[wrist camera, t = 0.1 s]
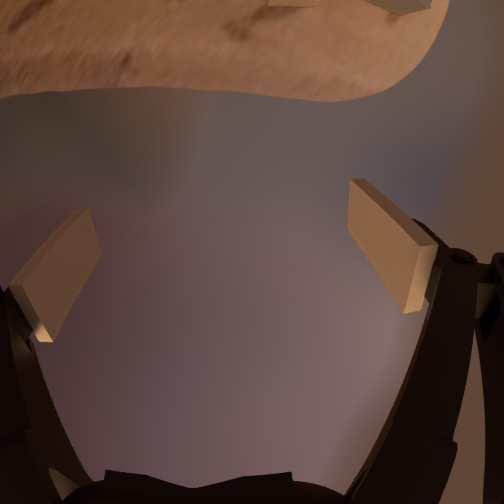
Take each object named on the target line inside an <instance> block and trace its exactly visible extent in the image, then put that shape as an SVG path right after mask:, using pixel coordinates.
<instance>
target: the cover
mask: <svg viewBox="0 0 504 504" xmlns="http://www.w3.org/2000/svg"><path fill="white" fill-rule="evenodd" d="M365 1H367V2H370V3H372V4H375V5H377V6H379V7H382V8H384V9H386V10H389V11H391V12H393V13H395V14H397V15H399V16H402V15H405V14H409V13H413V12H417V11H421V10H425V9H429V8H431V1H432V0H365Z"/></svg>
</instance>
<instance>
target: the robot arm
mask: <svg viewBox="0 0 504 504" xmlns="http://www.w3.org/2000/svg"><path fill="white" fill-rule="evenodd" d="M347 229H348V231H349V233H350V234H351V235H352V237H353V238H354V239H355V241H356V242H357V244H358V245H359V247H360V248H361V250H362V251H363V253H364V254H365V256H366V257H367V258H368V260H369V261H370V263H371V264H372V266H373V267H374V269H375V270H376V272H377V273H378V275H379V276H380V278H381V279H382V281H383V282H384V284H385V285H386V287H387V289H388V290H389V291H390V293H391V295H392V296H393V298H394V300H395V301H396V303H397V304H398V306H399V308H400V309H401V311H402V312H403V314H404V313H409V312H414V311H418V310H421V307H422V304H423V301H424V297H425V298H426V299H427V300H428V302H429V303H430V305H429V308H428V311H427V313H426V317H425V319H424V322H423V325H422V330H421V333H420V337H419V339H418V343H417V345H416V348H415V352H414V354H413V357H412V360H411V362H410V365H409V368H408V371H407V373H406V376H405V378H404V381H403V383H402V385H401V388H400V391H399V393H398V395H397V398H396V400H395V402H394V404H393V407H392V409H391V411H390V413H389V416H388V418H387V420H386V422H385V424H384V426H383V428H382V430H381V432H380V434H379V437H378V438H377V440H376V442H375V444H374V446H373V448H372V450H371V452H370V454H369V455H368V457H367V459H366V461H365V463H364V464H363V466H362V468H361V469H360V471H359V473H358V474H357V476H356V477H355V479H354V481H353V482H352V484H351V485H350V487H349V488H348V490H347V492H346V493H345V495H342V494H340V493H338V492H336V491H334V490H331V489H329V488H327V487H324V486H320V485H317V484H313V483H307V482H300V481H293V479H292V473H291V472H285V473H277V474H269V475H268V474H267V475H256V476H242V477H239V478H235V479H232V480H228V481H224V482H220V483H216V484H212V485H207V486H203V487H199V488H187V487H184V486H180V485H176V484H173V483H169V482H166V481H163V480H160V479H156V478H153V477H150V476H148V475H143V474H132V473H125V472H118V471H111V470H106V471H105V476H104V480H100V481H95V482H94V481H93V480H92V479H91V478H90V477H89V476H88V474H87V473H86V472H85V470H84V468H83V466H82V464H81V463H80V461H79V459H78V457H77V455H76V453H75V451H74V449H73V447H72V445H71V443H70V441H69V438H68V436H67V434H66V432H65V430H64V428H63V425H62V423H61V421H60V418H59V416H58V414H57V411H56V409H55V407H54V404H53V401H52V399H51V396H50V393H49V391H48V388H47V385H46V382H45V380H44V377H43V374H42V371H41V368H40V365H39V361H38V358H37V355H36V352H35V348H34V344H33V343H32V341H31V339H30V338H29V336H30V334H31V332H32V331H33V332H34V334H35V335H36V337H37V338H38V340H39V341H40V342H53V341H54V339H55V337H56V335H57V333H58V331H59V329H60V328H61V326H62V324H63V322H64V319H65V318H66V316H67V314H68V312H69V310H70V309H71V306H72V305H73V303H74V301H75V299H76V298H77V296H78V294H79V292H80V291H81V289H82V287H83V285H84V284H85V282H86V280H87V278H88V277H89V275H90V273H91V272H92V270H93V268H94V267H95V265H96V263H97V262H98V260H99V258H100V257H101V255H102V252H101V249H100V246H99V243H98V240H97V237H96V233H95V230H94V227H93V224H92V220H91V217H90V213H89V210H88V208H84V209H78V210H75V211H74V212H73V213H72V214H71V215H70V216H69V217H68V218H67V219H66V220H65V221H64V223H62V225H60V227H59V228H58V229H57V230H56V231H55V232H54V233H53V234H52V235H51V236H50V237H49V238H48V239H47V240H46V241H45V243H44V244H43V245H42V246H41V247H40V248H39V249H38V250H37V252H36V253H35V254H34V255H33V256H32V257H31V258H30V260H29V261H28V262H27V263H26V264H25V265H24V267H23V268H22V269H21V270H20V271H19V273H18V274H17V275H16V276H15V278H14V279H13V280H12V281H11V283H10V284H9V285H8V288H7V289H6V291H5V292H3V290H2V288H1V286H0V504H438V503H439V501H440V499H441V496H442V494H443V491H444V489H445V486H446V483H447V481H448V478H449V475H450V472H451V470H452V467H453V464H454V461H455V457H456V453H457V443H456V442H454V441H453V434H454V431H455V427H456V423H457V420H458V416H459V412H460V408H461V404H462V399H463V395H464V391H465V386H466V381H467V375H468V370H469V364H470V358H471V351H472V344H473V335H474V329H475V334H476V339H477V346H478V351H479V359H480V366H481V375H482V384H483V396H484V411H485V470H484V471H485V472H484V486H483V487H484V488H483V504H504V253H499V252H498V253H495V254H494V255H493V257H492V260H491V263H490V264H482V263H478V262H477V259H476V258H475V256H474V255H472V254H471V253H469V252H468V251H465V250H463V249H458V248H449V247H448V246H447V245H446V244H445V243H444V242H443V241H442V240H441V239H440V238H439V237H438V236H436V235H435V234H434V233H433V232H432V231H430V229H429V228H428V227H427V226H425V225H424V224H423V223H421V222H419V221H417V220H416V219H411V218H410V217H409V216H408V215H407V214H405V213H404V212H403V211H402V210H401V209H400V208H398V207H397V206H396V205H395V204H394V203H393V202H392V201H391V200H389V199H388V198H387V197H386V196H385V195H384V194H382V193H381V192H380V191H379V190H378V189H376V188H375V187H374V186H373V185H371V184H370V183H369V182H368V181H367V180H365V179H350V197H349V214H348V228H347Z"/></svg>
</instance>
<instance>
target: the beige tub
mask: <svg viewBox="0 0 504 504" xmlns="http://www.w3.org/2000/svg"><path fill="white" fill-rule="evenodd" d="M319 1H320V0H266V4H267V6H298V7H313V6H315V5H316V4H317V3H318V2H319Z"/></svg>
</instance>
